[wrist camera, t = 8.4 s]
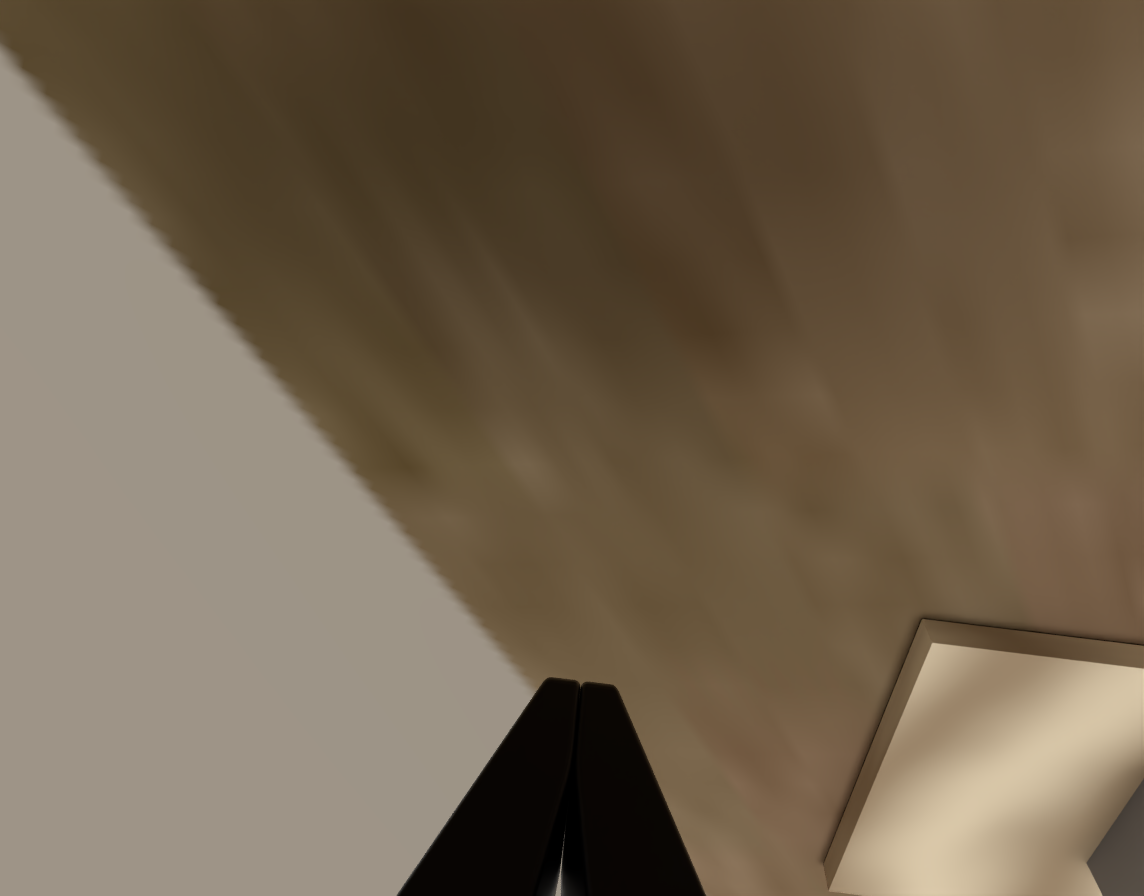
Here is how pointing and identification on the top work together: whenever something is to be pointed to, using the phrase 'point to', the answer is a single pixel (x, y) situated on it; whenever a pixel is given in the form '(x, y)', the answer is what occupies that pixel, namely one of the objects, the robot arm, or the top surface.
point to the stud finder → (1122, 852)
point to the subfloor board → (994, 767)
